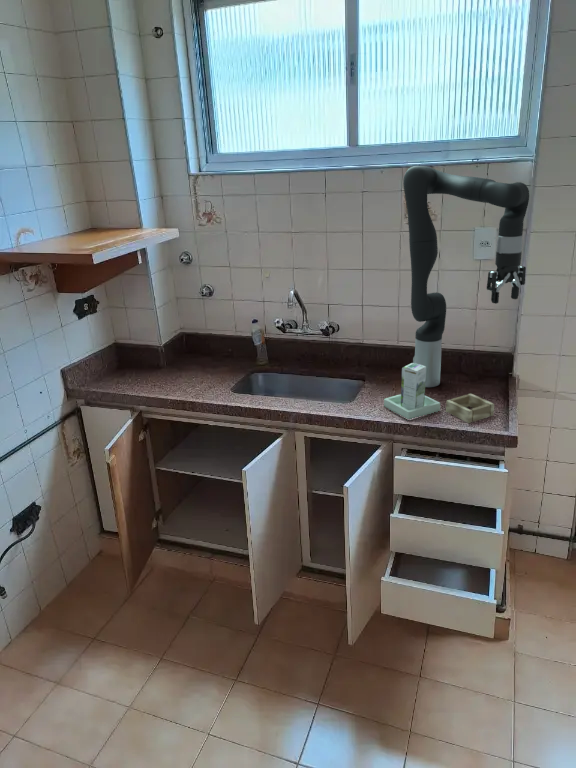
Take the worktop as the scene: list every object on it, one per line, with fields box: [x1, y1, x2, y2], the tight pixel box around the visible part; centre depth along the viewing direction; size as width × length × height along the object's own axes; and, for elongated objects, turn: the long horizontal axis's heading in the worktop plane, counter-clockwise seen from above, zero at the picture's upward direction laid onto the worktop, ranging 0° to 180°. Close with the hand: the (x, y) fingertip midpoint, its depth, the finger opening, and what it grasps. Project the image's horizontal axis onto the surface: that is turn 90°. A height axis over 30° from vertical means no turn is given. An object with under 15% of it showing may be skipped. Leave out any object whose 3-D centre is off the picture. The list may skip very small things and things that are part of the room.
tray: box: [383, 393, 441, 419], centre depth 193 cm, size 13×13×3 cm
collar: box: [445, 393, 495, 424], centre depth 187 cm, size 10×10×4 cm
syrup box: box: [400, 362, 426, 410], centre depth 191 cm, size 6×6×14 cm
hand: (504, 300), depth 188 cm, fingers open, 8 cm apart
